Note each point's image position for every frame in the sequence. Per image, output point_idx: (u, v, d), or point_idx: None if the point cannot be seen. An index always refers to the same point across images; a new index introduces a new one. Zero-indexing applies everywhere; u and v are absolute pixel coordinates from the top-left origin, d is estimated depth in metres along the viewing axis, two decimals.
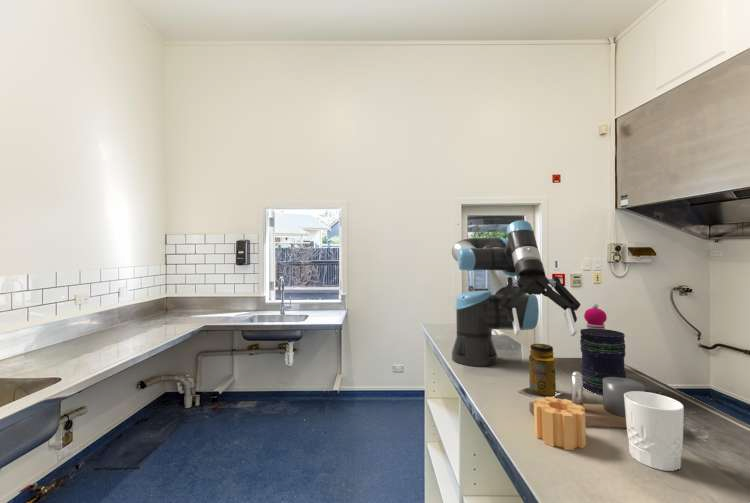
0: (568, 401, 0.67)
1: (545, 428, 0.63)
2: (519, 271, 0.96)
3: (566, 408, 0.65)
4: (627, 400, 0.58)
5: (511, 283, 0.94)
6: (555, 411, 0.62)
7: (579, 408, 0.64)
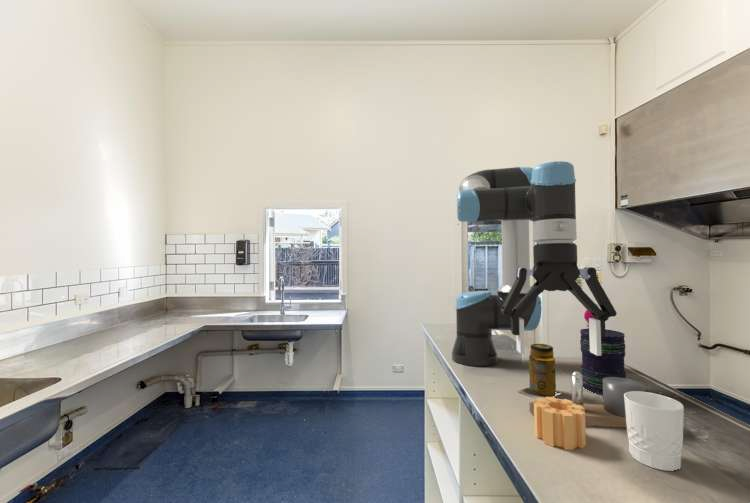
0: (568, 401, 0.67)
1: (545, 428, 0.63)
2: (539, 259, 0.65)
3: (566, 408, 0.65)
4: (627, 400, 0.58)
5: (524, 278, 0.65)
6: (555, 411, 0.62)
7: (579, 408, 0.64)
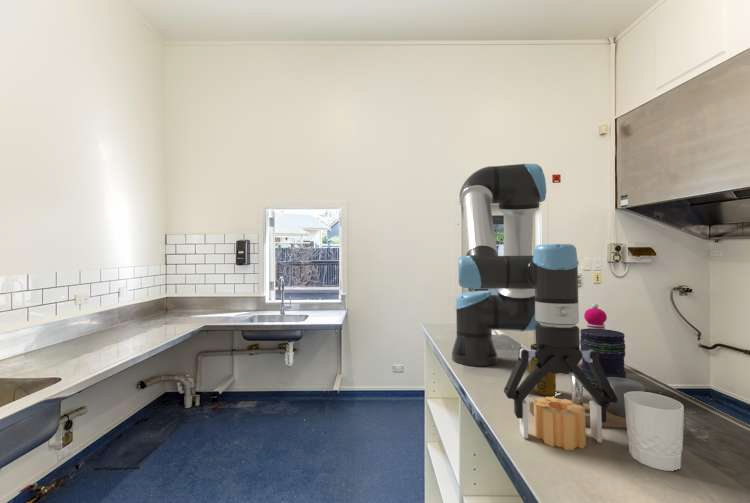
0: (568, 401, 0.67)
1: (545, 428, 0.63)
2: (541, 342, 0.64)
3: (566, 408, 0.65)
4: (627, 400, 0.58)
5: (527, 361, 0.65)
6: (555, 411, 0.62)
7: (579, 408, 0.64)
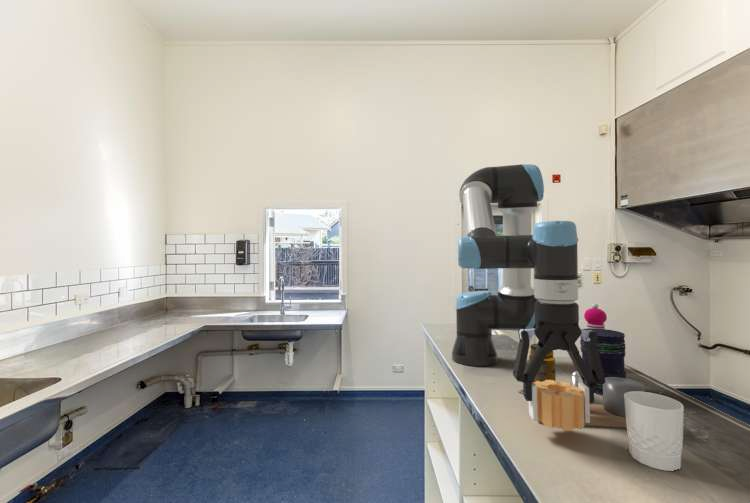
0: (567, 384, 0.67)
1: (544, 410, 0.63)
2: (540, 318, 0.64)
3: (565, 391, 0.66)
4: (627, 400, 0.58)
5: (528, 341, 0.65)
6: (554, 393, 0.63)
7: (578, 390, 0.64)
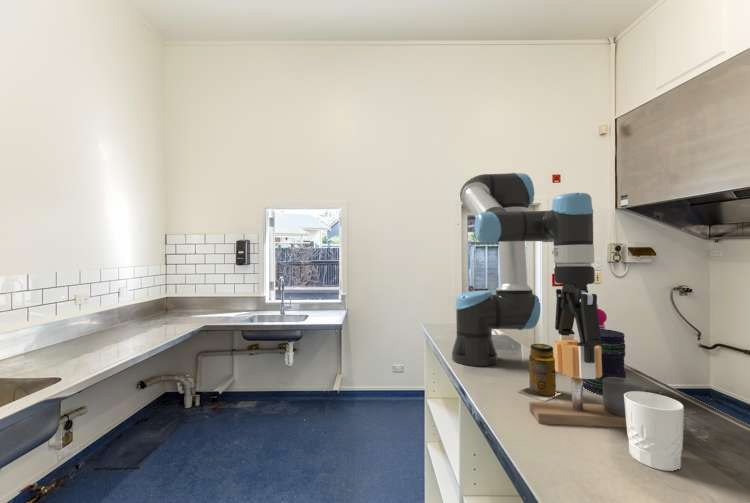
0: None
1: None
2: None
3: None
4: (627, 400, 0.58)
5: (558, 297, 0.79)
6: (560, 341, 0.74)
7: None
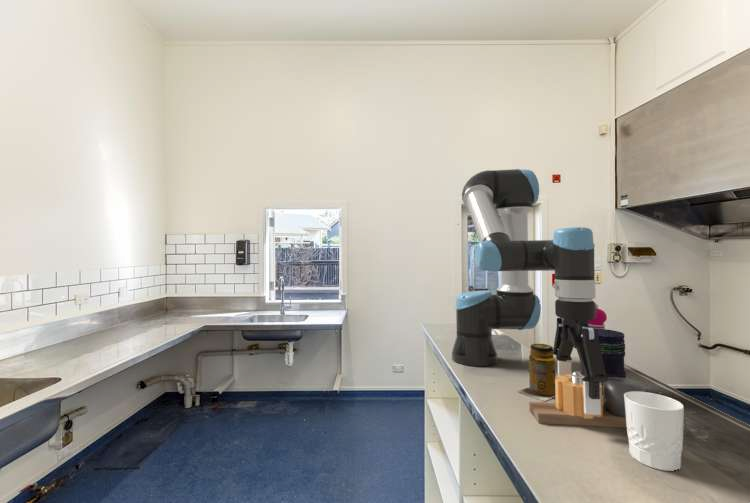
0: None
1: None
2: None
3: None
4: (627, 400, 0.58)
5: (558, 326, 0.79)
6: (561, 378, 0.74)
7: None
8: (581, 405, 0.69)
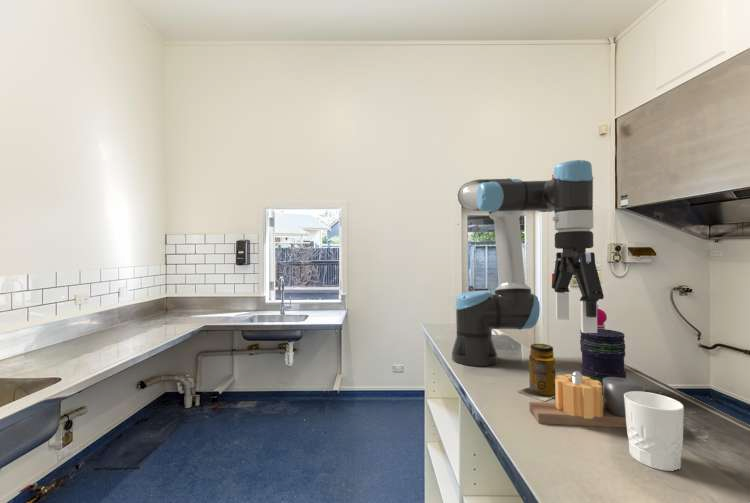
0: (595, 385, 0.70)
1: None
2: None
3: None
4: (627, 400, 0.58)
5: (557, 260, 0.82)
6: (561, 378, 0.74)
7: (583, 387, 0.69)
8: (581, 405, 0.69)
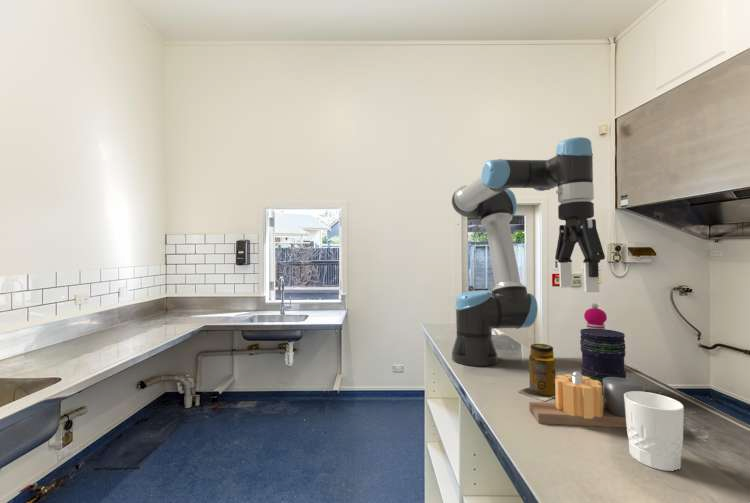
0: (595, 385, 0.70)
1: None
2: None
3: None
4: (627, 400, 0.58)
5: (560, 232, 0.89)
6: (561, 378, 0.74)
7: (583, 387, 0.69)
8: (581, 405, 0.69)
